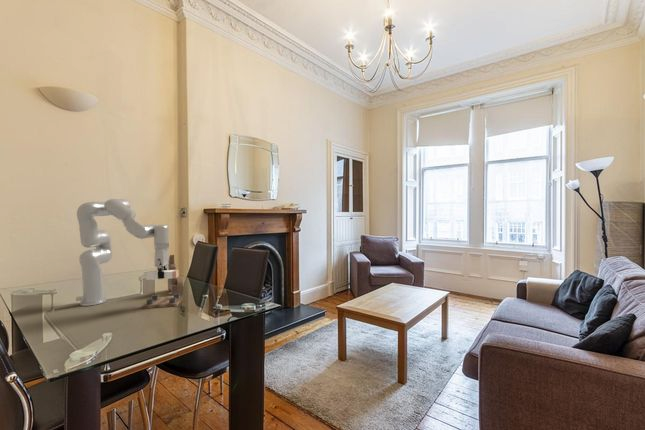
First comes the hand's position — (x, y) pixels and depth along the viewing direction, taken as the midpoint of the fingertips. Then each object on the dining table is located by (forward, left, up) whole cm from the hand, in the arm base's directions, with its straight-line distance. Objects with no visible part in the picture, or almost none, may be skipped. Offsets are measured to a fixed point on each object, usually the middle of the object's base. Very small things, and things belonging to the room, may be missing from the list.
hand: (162, 277), depth 177 cm
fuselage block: (0, 0, -1) cm, 1 cm away
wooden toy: (0, +24, -16) cm, 29 cm away
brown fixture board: (0, 0, -16) cm, 16 cm away
